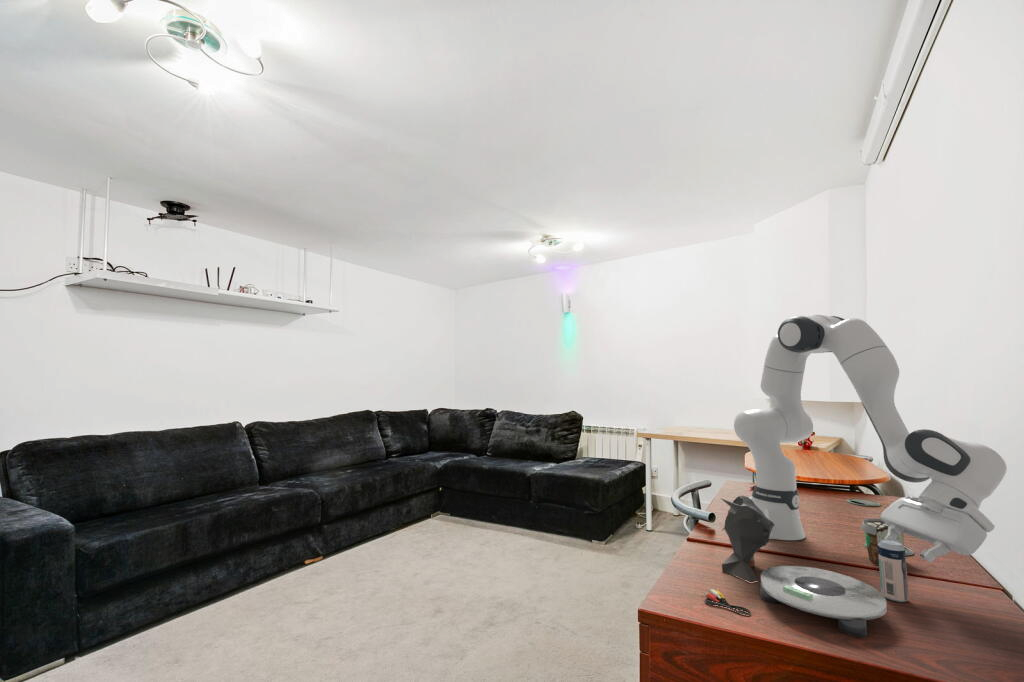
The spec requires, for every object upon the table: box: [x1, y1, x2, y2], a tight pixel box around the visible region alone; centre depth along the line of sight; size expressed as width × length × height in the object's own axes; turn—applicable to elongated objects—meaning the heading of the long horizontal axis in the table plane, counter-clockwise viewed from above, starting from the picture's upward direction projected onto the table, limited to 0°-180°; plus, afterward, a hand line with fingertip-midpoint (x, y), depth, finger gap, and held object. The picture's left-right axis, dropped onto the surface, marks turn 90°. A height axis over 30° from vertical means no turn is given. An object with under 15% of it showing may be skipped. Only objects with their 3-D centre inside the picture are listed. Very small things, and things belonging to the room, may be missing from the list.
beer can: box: [878, 539, 910, 603], centre depth 103 cm, size 5×5×12 cm
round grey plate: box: [759, 565, 888, 638], centre depth 98 cm, size 22×22×6 cm
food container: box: [860, 517, 905, 566], centre depth 125 cm, size 12×6×10 cm, turn 111°
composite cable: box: [702, 587, 752, 616], centre depth 98 cm, size 10×5×2 cm, turn 29°
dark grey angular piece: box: [721, 495, 774, 582], centre depth 120 cm, size 14×15×18 cm
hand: (905, 551), depth 103 cm, fingers open, 8 cm apart
